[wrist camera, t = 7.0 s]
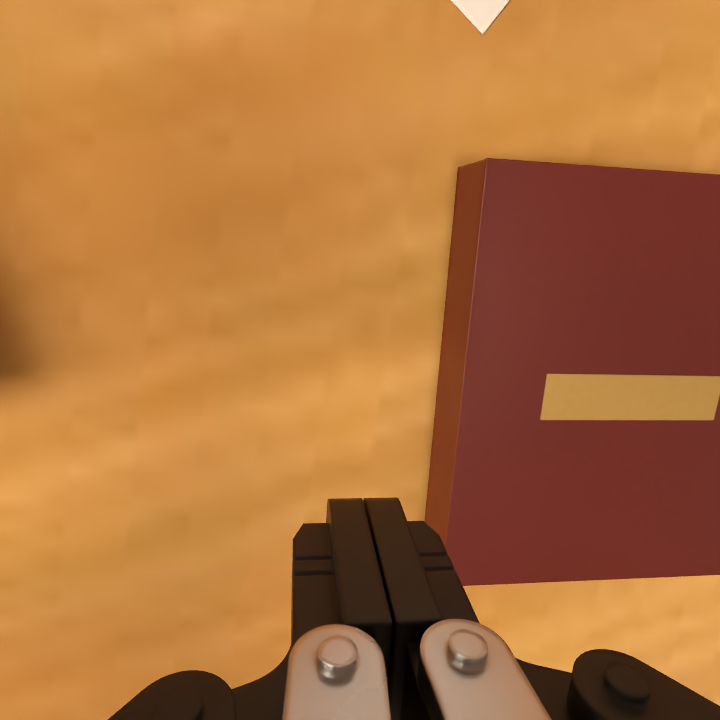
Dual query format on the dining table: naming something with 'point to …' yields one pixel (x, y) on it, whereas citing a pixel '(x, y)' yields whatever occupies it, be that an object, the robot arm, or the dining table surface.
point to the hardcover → (579, 375)
